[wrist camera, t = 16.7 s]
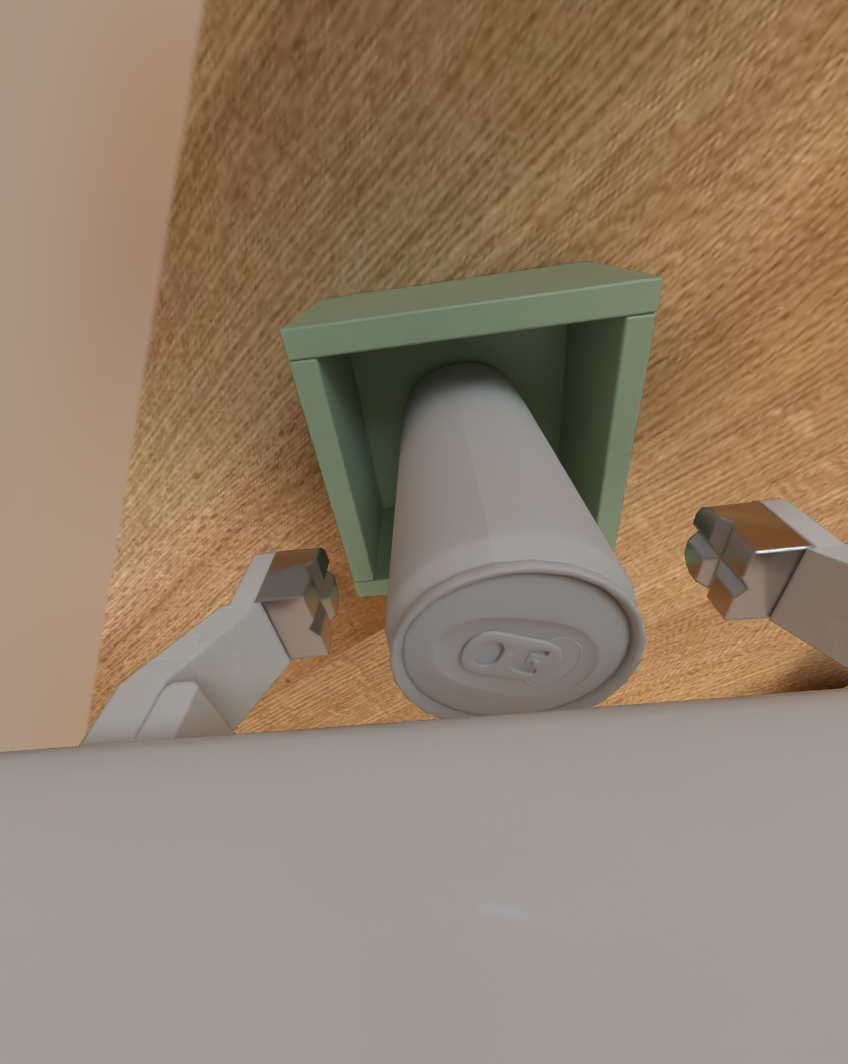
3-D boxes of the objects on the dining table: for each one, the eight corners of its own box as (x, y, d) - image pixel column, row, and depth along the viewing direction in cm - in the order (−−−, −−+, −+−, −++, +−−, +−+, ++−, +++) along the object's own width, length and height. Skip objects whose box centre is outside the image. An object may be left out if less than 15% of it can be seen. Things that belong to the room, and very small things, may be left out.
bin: (319, 299, 15) (277, 329, 11) (590, 260, 15) (665, 275, 10) (370, 518, 21) (357, 598, 16) (568, 497, 20) (610, 573, 16)
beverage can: (495, 481, 19) (573, 747, 9) (390, 455, 18) (358, 716, 9) (540, 376, 16) (717, 595, 7) (421, 340, 16) (423, 529, 6)
